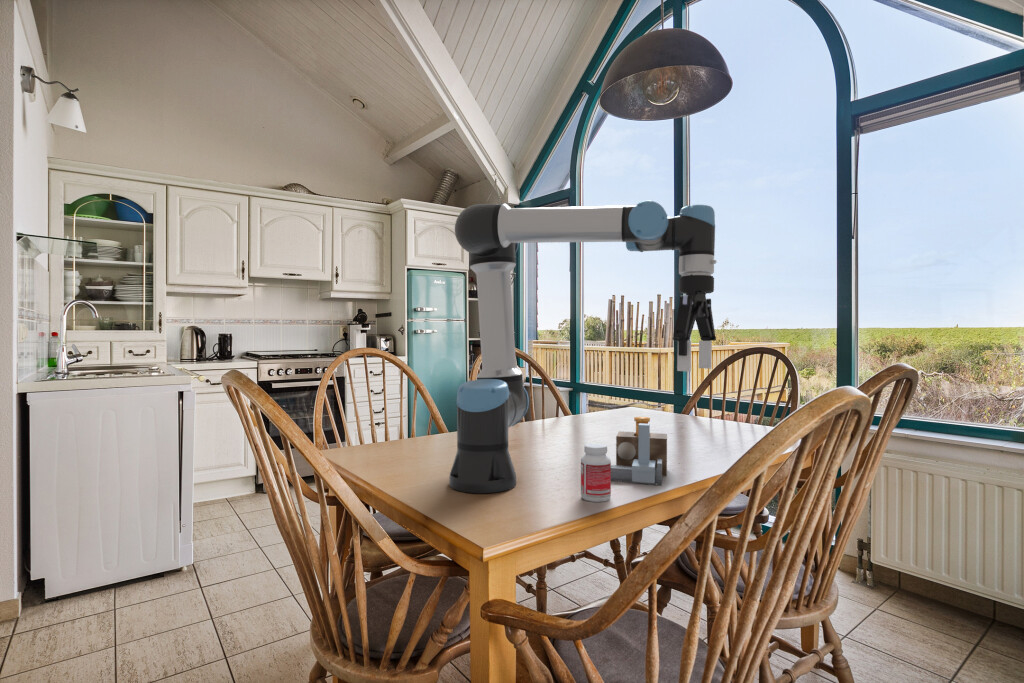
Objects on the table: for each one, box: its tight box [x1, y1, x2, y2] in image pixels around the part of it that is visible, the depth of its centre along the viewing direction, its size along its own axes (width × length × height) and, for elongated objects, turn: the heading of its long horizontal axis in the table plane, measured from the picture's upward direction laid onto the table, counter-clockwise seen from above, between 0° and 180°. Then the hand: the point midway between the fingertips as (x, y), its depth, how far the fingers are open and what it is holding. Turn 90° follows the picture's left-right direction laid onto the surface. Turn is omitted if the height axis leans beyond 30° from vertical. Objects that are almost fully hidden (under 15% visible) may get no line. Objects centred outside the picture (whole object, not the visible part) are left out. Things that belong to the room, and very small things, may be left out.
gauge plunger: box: [633, 416, 651, 436], centre depth 135 cm, size 4×4×7 cm
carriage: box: [631, 423, 656, 484], centre depth 125 cm, size 5×7×13 cm
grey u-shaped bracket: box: [611, 459, 663, 487], centre depth 126 cm, size 17×5×5 cm, turn 73°
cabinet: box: [615, 430, 668, 477], centre depth 135 cm, size 12×7×9 cm, turn 73°
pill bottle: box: [580, 443, 612, 503], centre depth 112 cm, size 6×6×11 cm
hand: (694, 369), depth 122 cm, fingers open, 13 cm apart
